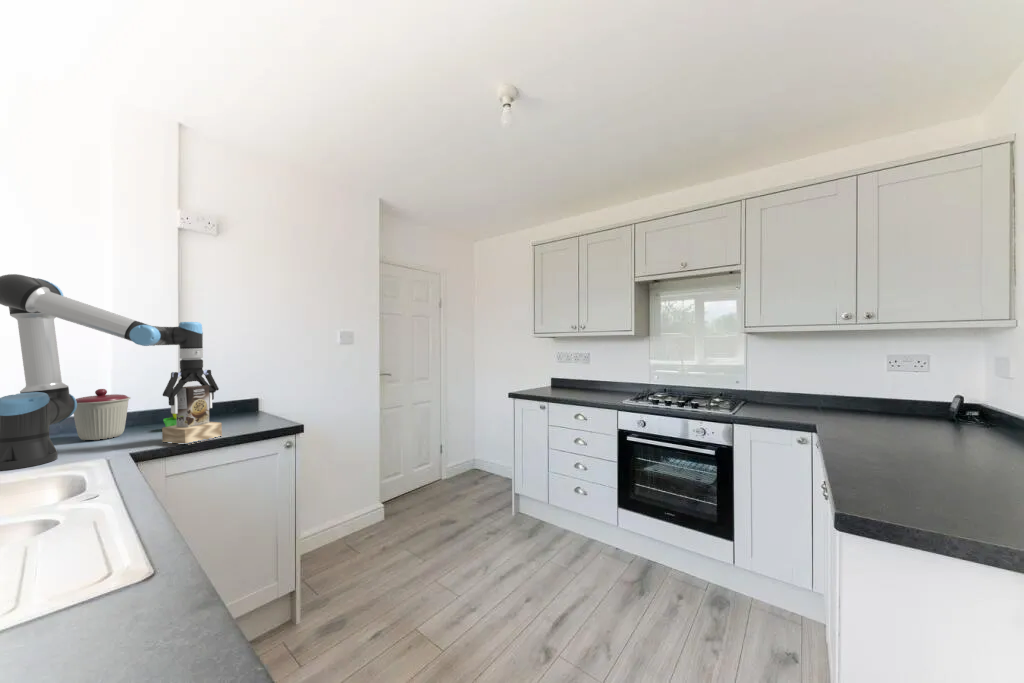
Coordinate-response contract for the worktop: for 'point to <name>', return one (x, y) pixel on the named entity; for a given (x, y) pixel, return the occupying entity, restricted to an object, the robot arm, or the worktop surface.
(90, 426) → the canister
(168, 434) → the oak block
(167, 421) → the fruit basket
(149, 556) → the worktop surface
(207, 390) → the coffee box
